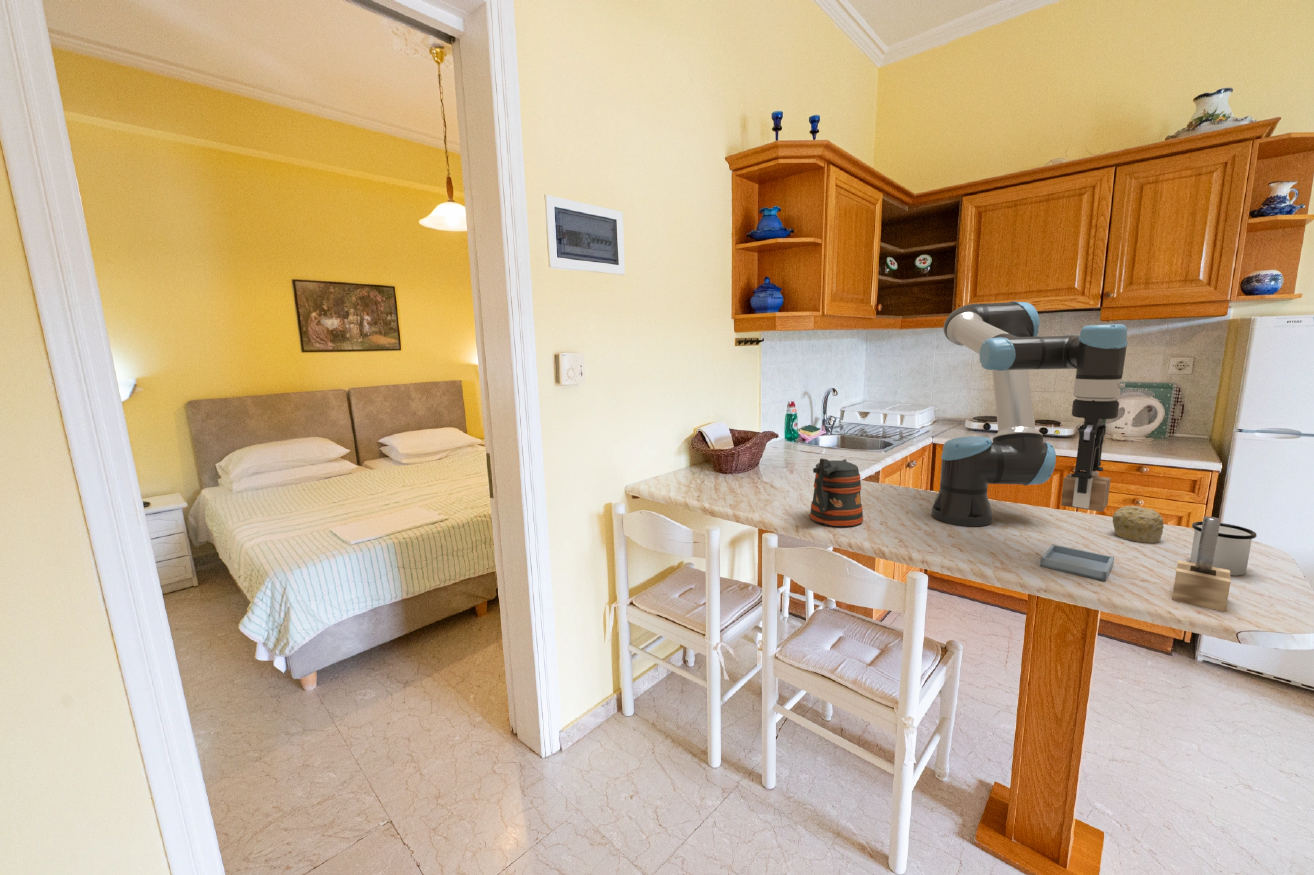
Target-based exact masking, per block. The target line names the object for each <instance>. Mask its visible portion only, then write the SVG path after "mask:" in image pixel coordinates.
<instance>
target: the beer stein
mask: <svg viewBox="0 0 1314 875" xmlns="http://www.w3.org/2000/svg"><path fill="white" fill-rule="evenodd" d="M812 472H813V473H814V474H815V476H814V477H815V478H814V482H813V496H812V501H811V503H810V513H809V518H810V519H811V520H812V521H813V522H815V523H818V524H821V525H825V526H831V527H843V528H849V527H853V526H858V525H860V524H862V522H863V521H864V517H863V516H864V515H863V513H864V512H863V509H864V508H863V504H862V499H861V490H862V483H861V473H860V472H859V466H858V465H856V464H855V463H851V462H848V461H847V459H846V458H844V459H843V460H829V459H826V458H820V459H819V462H818V463H817V464H816V465H815V467H813V469H812Z"/></svg>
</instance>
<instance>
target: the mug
mask: <svg viewBox="0 0 1314 875" xmlns="http://www.w3.org/2000/svg"><path fill="white" fill-rule="evenodd" d="M1202 524H1203V520H1202V521H1195V522H1192V524H1191V528H1193V529H1194V534H1193V539H1192V545H1191V546H1192V547H1191V552H1190V558H1189V562H1191V563H1196V559H1197V554H1198V548H1199V542H1200V536H1201V530H1202ZM1257 536H1258V534H1257V533H1256V532H1255V531H1253V530H1251V529H1249V528H1246V527H1243V526H1239V525H1235V524H1231V523H1225V522H1220V527H1219V533H1218V538H1217V544H1216V550H1215V556H1214V561H1213V567H1216V568H1221V569H1226V570H1230V576H1233V577H1234V576H1236V577H1237V576H1242V575H1246V574H1247V568H1248V564H1249V559H1250V553H1251V552H1250V551H1251V546H1252V540H1254V539H1256V538H1257Z"/></svg>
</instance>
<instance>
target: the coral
mask: <svg viewBox="0 0 1314 875" xmlns="http://www.w3.org/2000/svg"><path fill="white" fill-rule="evenodd" d="M1112 524H1113V528H1114V532H1115V535H1116V536H1117V537H1120V538H1122V539H1124V540H1129V541H1132V542H1137V543H1145V544H1156V543H1159V542H1160V540H1161V539H1162V535H1163V532H1164V529H1165V528H1164V525H1165V524H1164V518H1163V516H1162V515H1161V514H1160V513H1159V512H1157V511H1156V510H1155V509H1152V508H1146V507H1141V506H1139V505H1138V506H1137V505H1125V506H1121V507H1119V508H1118V509H1116V510H1115V511H1114V513H1113V514H1112Z"/></svg>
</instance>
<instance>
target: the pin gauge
mask: <svg viewBox="0 0 1314 875" xmlns="http://www.w3.org/2000/svg"><path fill="white" fill-rule="evenodd" d="M1202 519H1203V520H1202V521H1203V524H1202V530H1201V536H1200V542H1199V548H1198V554H1197V559H1196V565H1195V571H1194V572H1199V573H1204V574H1209V575H1211V573H1212V567H1213V561H1214V556H1215V550H1216V544H1217V538H1218V533H1219V527H1220V523H1221V521H1222V520H1221V518H1218V517H1215V516H1203V518H1202Z"/></svg>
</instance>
